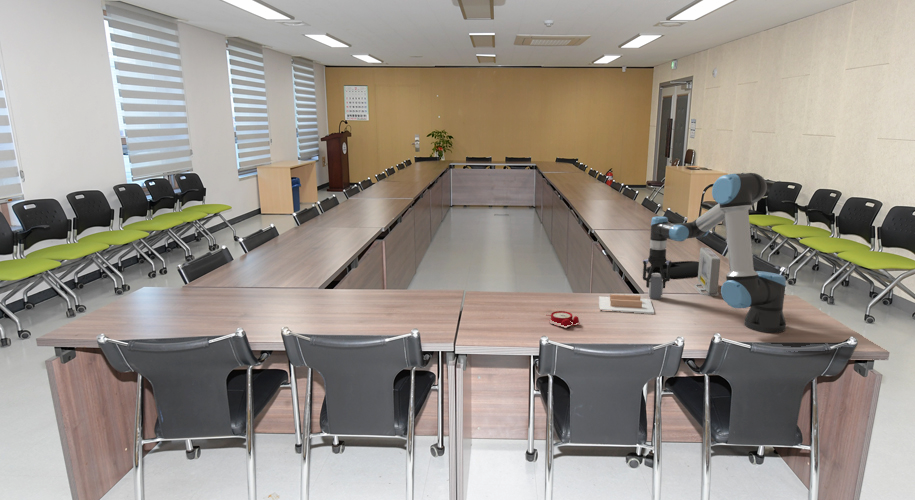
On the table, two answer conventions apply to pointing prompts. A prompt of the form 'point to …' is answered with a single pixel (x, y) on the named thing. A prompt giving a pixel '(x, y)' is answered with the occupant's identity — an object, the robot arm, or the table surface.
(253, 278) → the table surface
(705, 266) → the network device
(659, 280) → the connector plug
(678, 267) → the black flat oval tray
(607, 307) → the end holder
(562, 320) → the alarm clock
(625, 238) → the table surface
